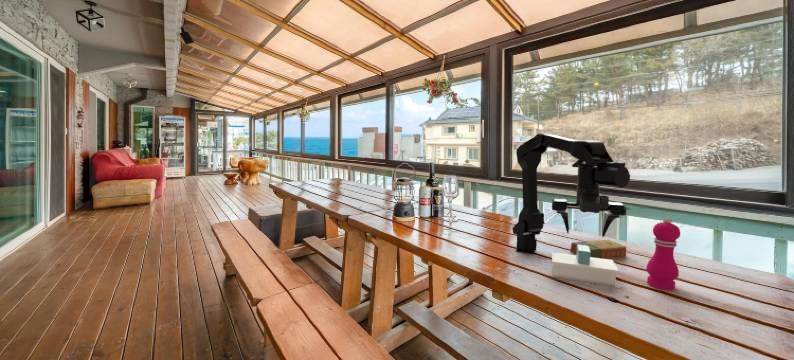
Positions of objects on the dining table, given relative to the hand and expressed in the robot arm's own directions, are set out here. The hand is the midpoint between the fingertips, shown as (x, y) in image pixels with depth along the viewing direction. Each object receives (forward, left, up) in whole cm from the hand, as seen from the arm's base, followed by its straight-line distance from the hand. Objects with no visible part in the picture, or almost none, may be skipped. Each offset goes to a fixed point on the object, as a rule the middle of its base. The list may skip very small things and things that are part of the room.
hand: (584, 234), depth 98 cm
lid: (0, 0, -9) cm, 9 cm away
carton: (+7, +24, -14) cm, 28 cm away
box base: (0, 0, -13) cm, 13 cm away
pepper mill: (+20, +2, -13) cm, 24 cm away
